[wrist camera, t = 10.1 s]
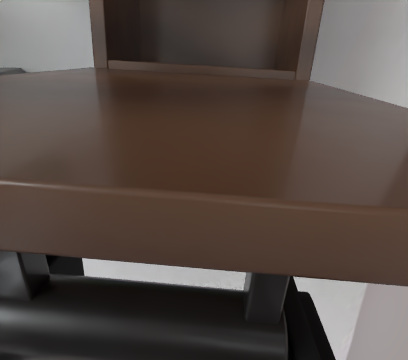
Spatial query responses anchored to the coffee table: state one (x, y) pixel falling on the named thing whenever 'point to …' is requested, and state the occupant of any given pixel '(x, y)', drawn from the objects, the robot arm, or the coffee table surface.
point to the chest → (207, 36)
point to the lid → (188, 207)
